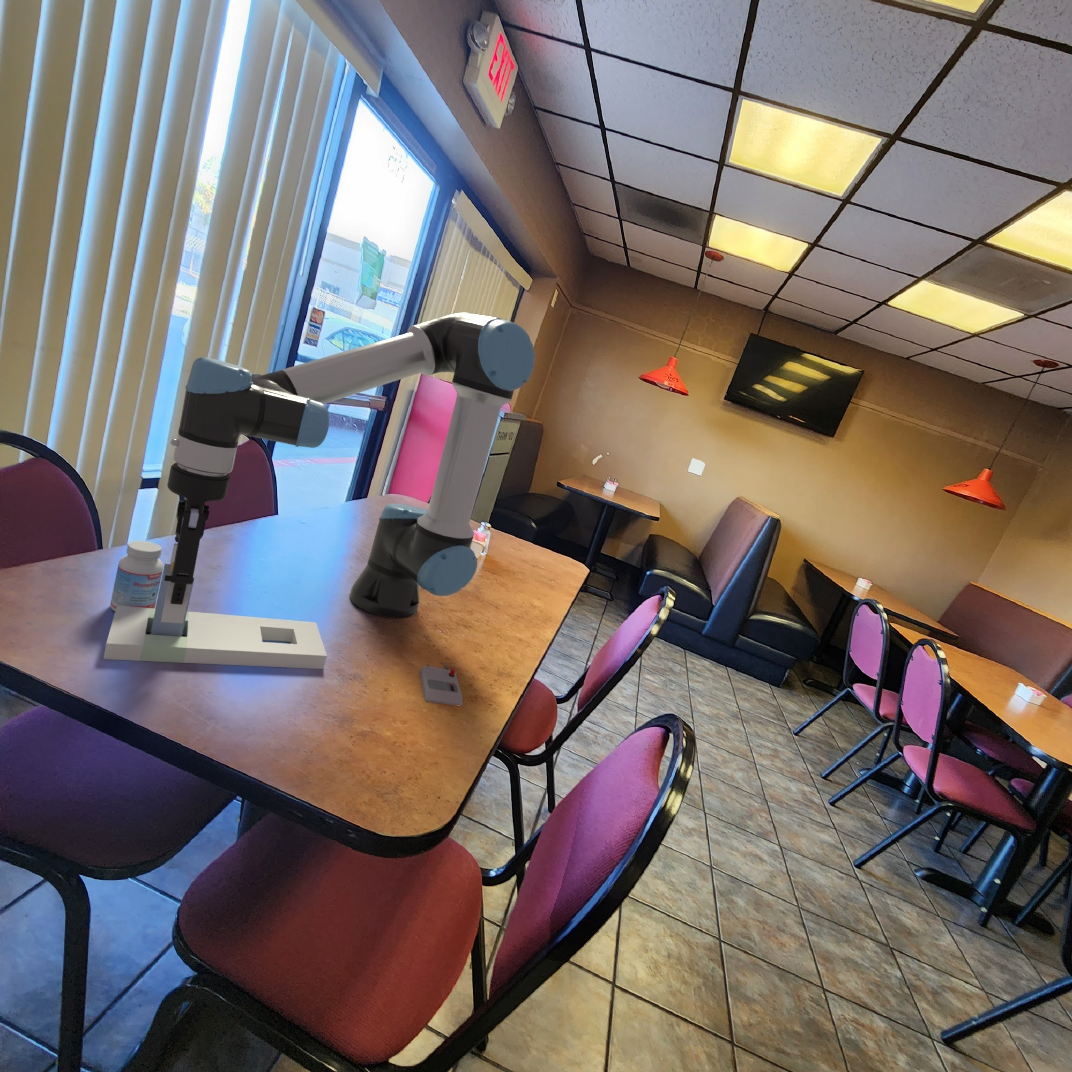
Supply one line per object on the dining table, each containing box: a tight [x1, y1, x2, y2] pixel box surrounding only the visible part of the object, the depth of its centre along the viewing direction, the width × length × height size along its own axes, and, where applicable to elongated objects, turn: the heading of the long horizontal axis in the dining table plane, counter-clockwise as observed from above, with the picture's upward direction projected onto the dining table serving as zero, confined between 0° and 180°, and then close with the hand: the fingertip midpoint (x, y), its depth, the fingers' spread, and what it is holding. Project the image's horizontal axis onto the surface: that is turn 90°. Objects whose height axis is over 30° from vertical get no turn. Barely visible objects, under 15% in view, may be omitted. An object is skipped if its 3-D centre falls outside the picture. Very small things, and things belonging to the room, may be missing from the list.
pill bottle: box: [109, 540, 164, 612], centre depth 94 cm, size 6×6×11 cm
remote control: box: [419, 662, 463, 707], centre depth 105 cm, size 7×16×3 cm, turn 16°
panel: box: [103, 605, 328, 670], centre depth 94 cm, size 30×12×2 cm, turn 119°
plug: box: [149, 562, 196, 637], centre depth 89 cm, size 4×4×13 cm
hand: (174, 601), depth 89 cm, fingers open, 13 cm apart
